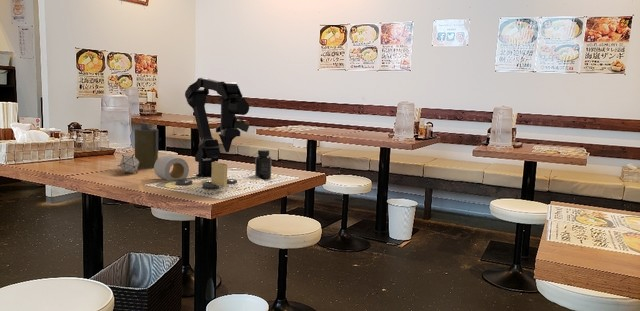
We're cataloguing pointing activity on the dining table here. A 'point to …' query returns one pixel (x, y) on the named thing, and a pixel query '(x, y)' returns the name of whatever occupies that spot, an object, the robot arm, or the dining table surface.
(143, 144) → the canister
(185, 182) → the tribrach plate
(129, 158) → the game die
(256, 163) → the supplement bottle
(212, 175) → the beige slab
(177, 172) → the toilet paper
